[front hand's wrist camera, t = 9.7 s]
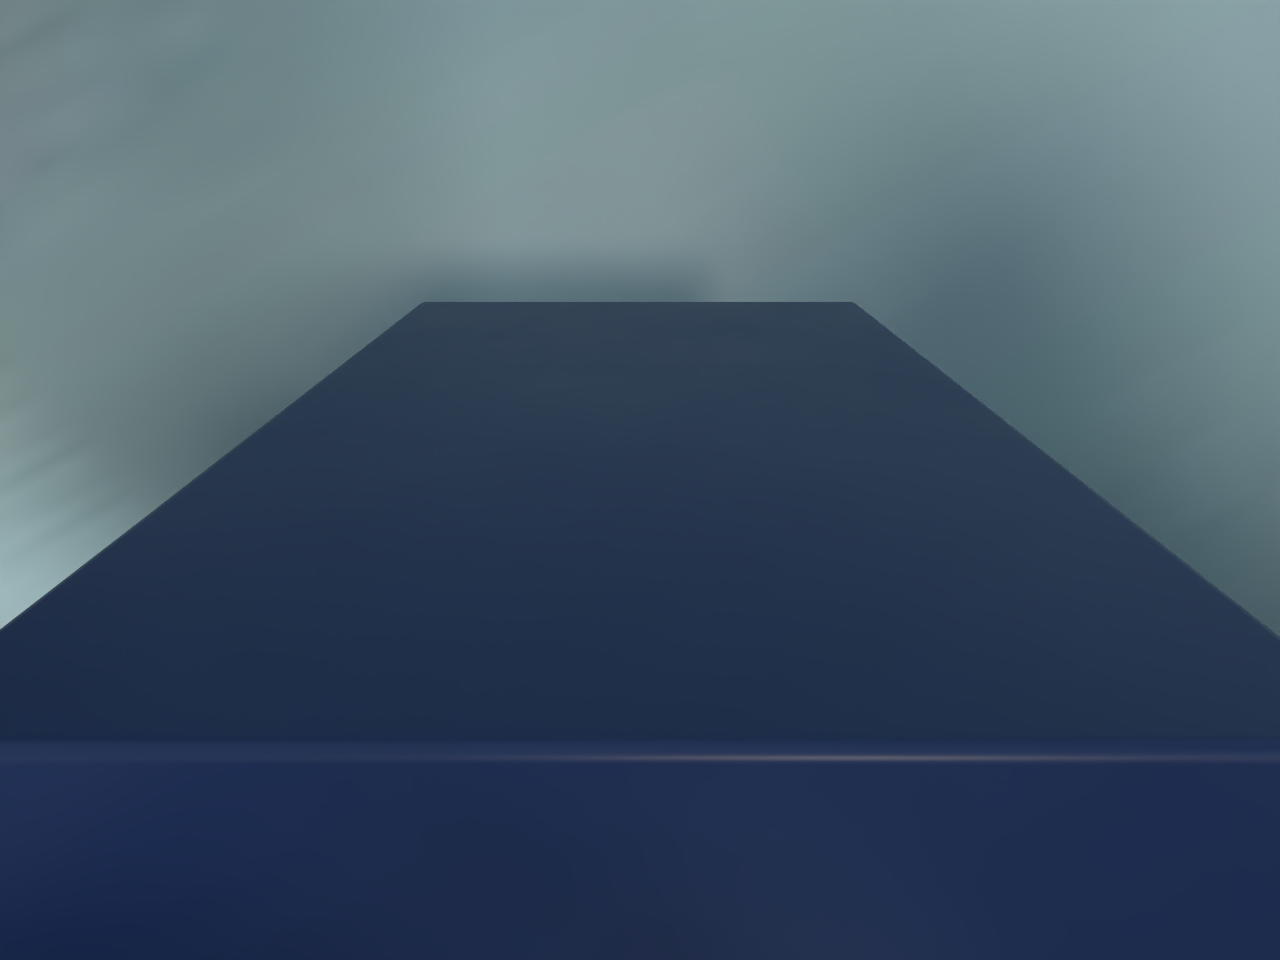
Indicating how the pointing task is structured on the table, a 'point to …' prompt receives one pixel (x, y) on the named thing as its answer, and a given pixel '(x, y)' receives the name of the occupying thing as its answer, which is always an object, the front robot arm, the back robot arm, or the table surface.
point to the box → (638, 674)
